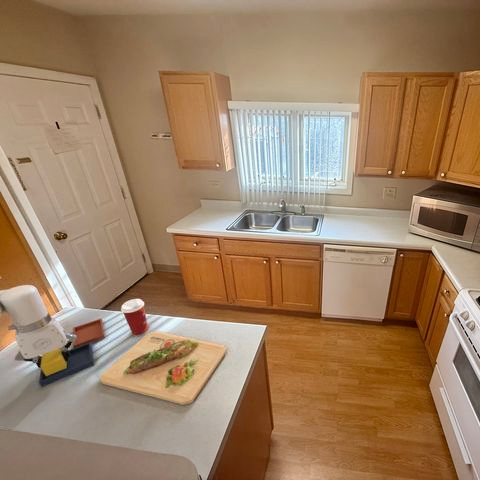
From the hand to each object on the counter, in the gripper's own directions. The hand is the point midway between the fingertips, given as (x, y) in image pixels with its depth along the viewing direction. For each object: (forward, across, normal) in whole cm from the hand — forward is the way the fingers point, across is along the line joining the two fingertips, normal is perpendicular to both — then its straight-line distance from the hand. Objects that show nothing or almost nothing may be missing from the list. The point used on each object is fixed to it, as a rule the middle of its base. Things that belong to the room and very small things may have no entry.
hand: (55, 362), depth 88 cm
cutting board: (+4, +29, -22) cm, 37 cm away
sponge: (+1, 0, 0) cm, 1 cm away
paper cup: (+4, +24, +4) cm, 25 cm away
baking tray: (+3, +2, 0) cm, 4 cm away
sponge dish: (+3, +8, +14) cm, 17 cm away
